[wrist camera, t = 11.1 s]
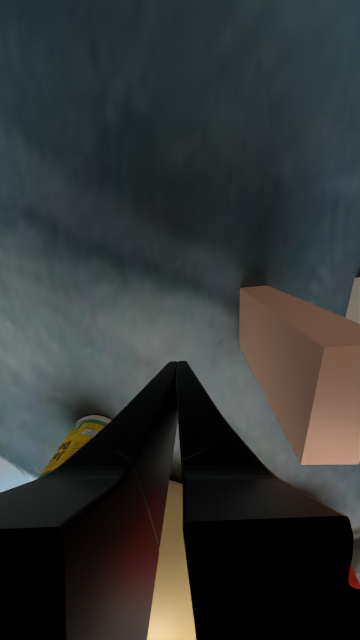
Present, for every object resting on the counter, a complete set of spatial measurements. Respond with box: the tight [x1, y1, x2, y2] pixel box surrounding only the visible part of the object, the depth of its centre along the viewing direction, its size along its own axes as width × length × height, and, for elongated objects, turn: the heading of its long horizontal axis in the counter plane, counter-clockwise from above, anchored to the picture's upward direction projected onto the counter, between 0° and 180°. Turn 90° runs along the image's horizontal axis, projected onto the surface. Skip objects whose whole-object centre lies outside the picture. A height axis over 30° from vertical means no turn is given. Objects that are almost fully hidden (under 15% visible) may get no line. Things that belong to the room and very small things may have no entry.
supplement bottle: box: [38, 415, 111, 479], centre depth 15 cm, size 5×5×10 cm
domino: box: [239, 285, 360, 465], centre depth 10 cm, size 5×2×9 cm, turn 6°
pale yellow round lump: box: [147, 480, 196, 640], centre depth 18 cm, size 12×12×11 cm
